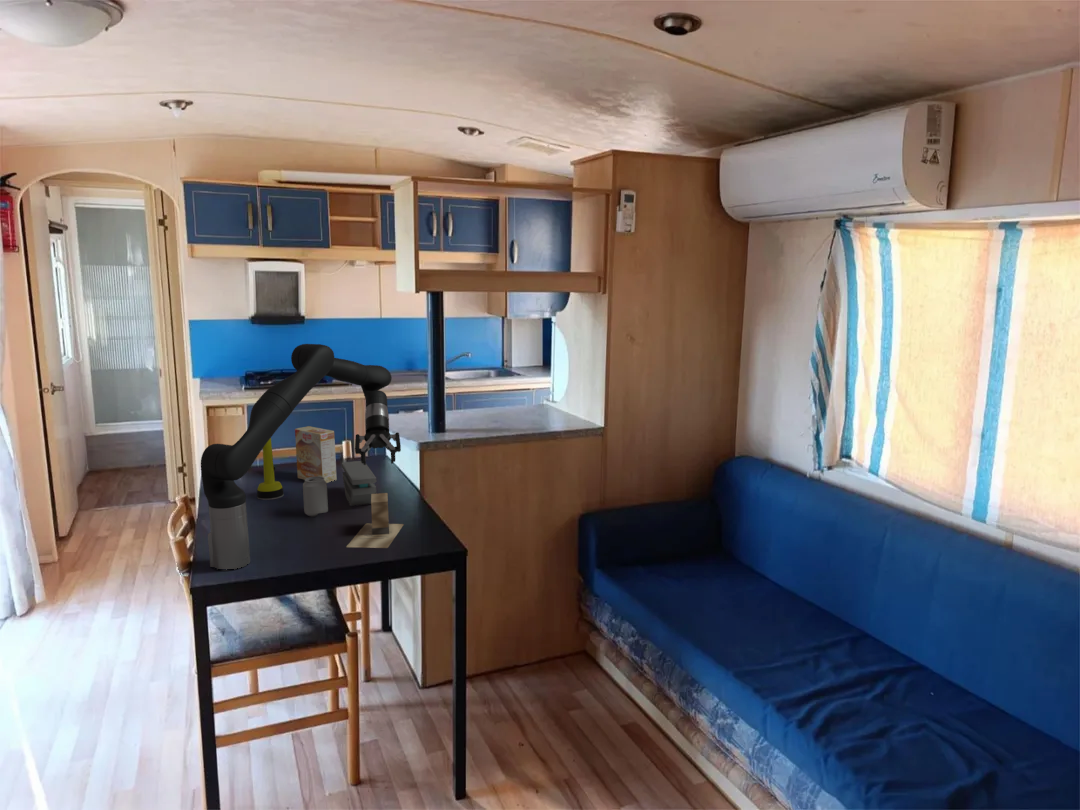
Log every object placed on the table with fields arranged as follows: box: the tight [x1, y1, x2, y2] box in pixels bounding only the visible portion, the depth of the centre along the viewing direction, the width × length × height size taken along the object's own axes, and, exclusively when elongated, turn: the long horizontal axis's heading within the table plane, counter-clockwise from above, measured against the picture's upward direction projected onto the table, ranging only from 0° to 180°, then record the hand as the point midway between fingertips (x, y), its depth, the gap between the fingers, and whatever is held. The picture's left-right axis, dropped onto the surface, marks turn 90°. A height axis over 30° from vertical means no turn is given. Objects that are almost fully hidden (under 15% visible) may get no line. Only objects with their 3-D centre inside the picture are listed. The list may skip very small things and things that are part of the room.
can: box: [302, 476, 329, 517], centre depth 240 cm, size 8×8×12 cm
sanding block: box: [370, 492, 390, 535], centre depth 222 cm, size 5×9×10 cm, turn 12°
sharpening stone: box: [341, 460, 377, 507], centre depth 254 cm, size 25×8×11 cm, turn 23°
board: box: [345, 522, 405, 549], centre depth 218 cm, size 12×20×1 cm, turn 177°
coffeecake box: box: [294, 425, 338, 484], centre depth 279 cm, size 15×7×20 cm, turn 55°
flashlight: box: [256, 437, 285, 501], centre depth 258 cm, size 25×9×9 cm
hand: (378, 463), depth 231 cm, fingers open, 8 cm apart
